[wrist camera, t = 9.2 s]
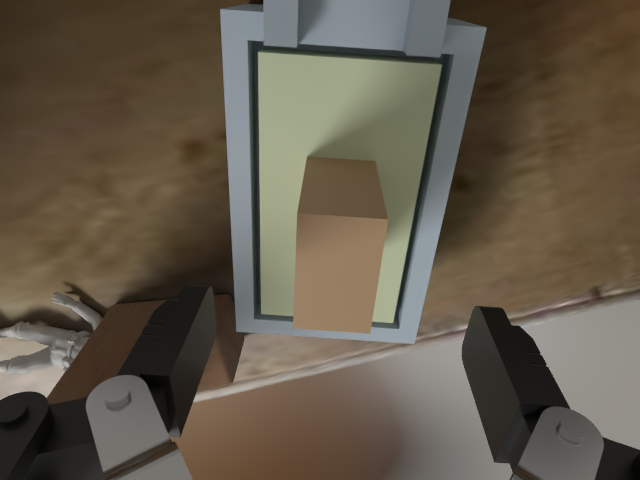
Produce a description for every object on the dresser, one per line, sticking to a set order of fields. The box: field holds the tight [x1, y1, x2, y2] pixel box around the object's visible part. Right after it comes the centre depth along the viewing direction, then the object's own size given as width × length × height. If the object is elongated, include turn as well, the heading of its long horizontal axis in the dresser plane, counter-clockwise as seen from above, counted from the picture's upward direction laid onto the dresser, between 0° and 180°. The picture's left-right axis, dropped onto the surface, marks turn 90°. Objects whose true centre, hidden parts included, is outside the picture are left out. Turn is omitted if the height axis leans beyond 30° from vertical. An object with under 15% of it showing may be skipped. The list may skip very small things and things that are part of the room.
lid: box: [258, 47, 442, 334], centre depth 19 cm, size 7×13×7 cm, turn 177°
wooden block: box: [47, 294, 244, 405], centre depth 24 cm, size 9×4×18 cm, turn 98°
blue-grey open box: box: [220, 0, 487, 344], centre depth 21 cm, size 10×22×7 cm, turn 177°
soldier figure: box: [0, 292, 103, 399], centre depth 31 cm, size 8×5×12 cm
